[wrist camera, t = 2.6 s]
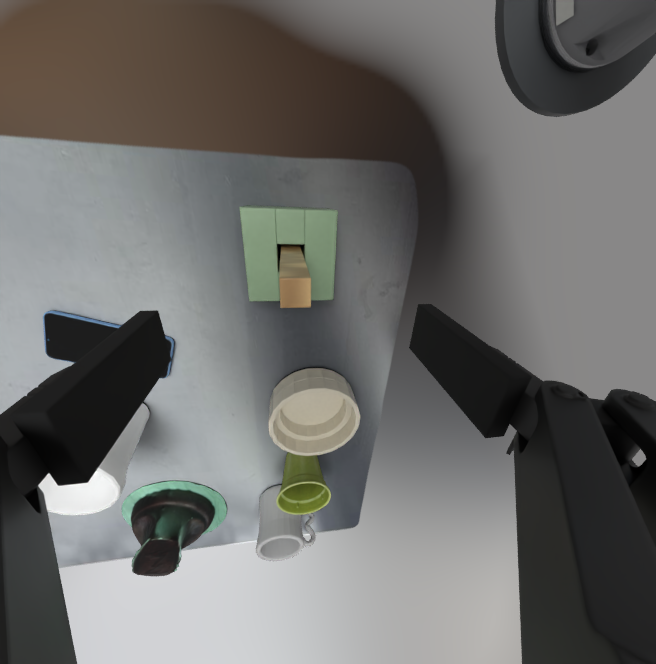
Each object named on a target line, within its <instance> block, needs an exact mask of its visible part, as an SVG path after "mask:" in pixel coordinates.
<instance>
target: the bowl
mask: <svg viewBox="0 0 656 664" xmlns="http://www.w3.org/2000/svg"><path fill="white" fill-rule="evenodd" d="M359 421H360V413H359V409H358V406H357V403H356V400H355V397H354V395H353V392H352V389H351V386H350V385H349V383H348V382H347V381H346V379H345V378H344V377H342V376H341V375H339V374H338V373H336V372H334V371H331V370H327V369H323V368H307V369H303V370H300V371H297V372H294V373H292V374H290V375H289V376H287V377H286V378H284V379H282V380H281V381H280V383H279V384H278V385H277V386H276V387H275V388H274V390H273V393H272V396H271V398H270V409H269V434H270V436H271V438H272V439H273V441H274V443H275V444H276V445H278V446H279V447H280V448H281V449H282V450H285V451H287V452H290V453H292V454H295V455H303V456H313V455H322V454H325V453H328V452H331V451H334V450H336V449H337V448H339V447H341V446H343V445H344V444H345V443H346V442H348V441H349V440H350V439H351V438H352V437H353V436H354V434H355V432H356V430H357V429H358V427H359Z"/></svg>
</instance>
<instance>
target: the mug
mask: <svg viewBox="0 0 656 664" xmlns="http://www.w3.org/2000/svg"><path fill="white" fill-rule="evenodd" d="M281 486H282V485H277V486H273V487H271V488H269V489H267V490H266V491H265V492H264V493H263V494H262V495H261V497H260V500H259V510H260V523H259V535H258V540H257V546H256V553H257V555H258V556H259V557H260V558H261V559H264V560H268V561H280V560H285V559H289V558H291V557H294V556H295V555H297V554H298V553H299V552H300V551H301V550H302V549H303V547H304V546H306V547H308V546H311V545H312V544H313V543H314V541H315V533H314V531H313V529H312V528H311V527H310V526H309V525H310V524H311V523H312V522H313V521H314V515H313V513H309V514H308V515H309V517H310V519H309V520H308V521H307V522H306V524H305V528H306V530H307V531H308V532H309V534H310V535H311V539H310V540H309V541H306V540H305V538H304V537H303V534H302V528H301V515H293V514H289V513H286V512H283V511H282V510H280V509H279V508H278V506H277V503H276V499H277V496H278V494H279V492H280V488H281Z"/></svg>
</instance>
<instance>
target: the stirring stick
mask: <svg viewBox="0 0 656 664" xmlns="http://www.w3.org/2000/svg"><path fill="white" fill-rule="evenodd" d="M279 286H280V307H281V308H304V307H311V277H310V274H309V271H308V268H307V265H306V262H305V259H304V256H303V253H302V250H301V247H300V244H281V255H280V273H279Z"/></svg>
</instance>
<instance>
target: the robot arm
mask: <svg viewBox="0 0 656 664" xmlns="http://www.w3.org/2000/svg"><path fill="white" fill-rule="evenodd" d="M539 25H540V31H541V36H542V40H543V43H544V45H545V48H546V50H547V52H548V54H549V55H550V57H551V58H552V60H553V61H554V62H555V63H556V64H557V65H558V66H560V67H561V68H563V69H565V70H568V71H571V72H587V71H591V70H594V69H597V68H599V67H602V66H604V65H607V64H609V63H611V62H614V61H616V60H618V59H620V58H621V57H623V56H624V55H626V54H627V53H629V52H630V51H632V50H633V49H634V48H636V47H637V46H638V45H640V44H641V43H642V42H644V41H645V40H646V39H648V38H649V37H651V36H652V35H653V34H655V33H656V0H539ZM409 348H410V349H411V350H412V352H413V353H414V354H415V355H416V356H417V358H418V359H419V360H420V361H421V362H422V363H423V365H424V366H425V367H426V368H427V369H428V371H429V372H430V373H431V374H432V375H433V376H434V378H435V379H436V380H437V381H438V382H439V384H440V385H441V386H442V387H443V388H444V390H446V392H447V393H448V394H449V395H450V397H451V398H452V399H453V400H454V401H455V403H456V404H457V405H458V406H459V407H460V408H461V410H462V411H463V412H464V413H465V414H466V416H467V417H468V418H469V419H470V420H471V422H472V423H473V424H474V425H475V426H476V427H477V429H478V430H479V431H480V432H481V433H482V435H483V436H484V437H485V438H491V437H500V436H504V434H505V432H506V430H507V428H508V426H509V424H511V425H512V426H513V427H514V428H515V429H516V430H517V432H516V435H515V436H514V439H513V440H512V442H511V444H510V446H509V448H508V450H507V454H509V455H510V453H511V452H512V451H513V450H514V463H515V487H516V488H515V489H516V515H517V541H518V568H519V593H520V619H521V646H522V664H656V401H653V400H652V399H649V398H648V397H647V396H645V395H642V394H639V393H637V392H631V391H627V390H621V389H614V390H611V391H610V393H609V394H608V396H607V397H606V399H605V400H598V399H591V398H588V396H587V395H586V394H584V393H583V392H582V391H580V390H578V389H576V388H574V387H572V386H570V385H567V384H564V383H562V382H557V381H544V382H543V381H542V380H540V379H539V378H537V377H536V376H535V375H533V374H532V373H530V372H529V371H528V370H526V369H525V368H523V367H522V366H521V365H519V364H517V363H516V362H515V361H513V360H512V359H511V358H508V356H506V355H505V354H504V353H502V352H501V351H499V350H498V349H495V348H493V347H491V346H488V345H487V344H486V343H485V342H483V341H482V340H480V339H479V338H478V337H476V336H475V335H474V334H472V333H471V332H469V331H468V330H467V329H465V328H464V327H462V326H461V325H460V324H458V323H457V322H455V321H454V320H453V319H451V318H450V317H448V316H447V315H446V314H444V313H443V312H441V311H440V310H439V309H437V308H436V307H434V306H433V305H431V304H419V305H418V308H417V313H416V318H415V323H414V328H413V332H412V338H411V342H410V347H409ZM171 360H172V359H171V356H170V352H169V348H168V345H167V341H166V338H165V334H164V331H163V327H162V323H161V320H160V316H159V313H158V311H139V312H138V313H137V314H136V315H134V316H133V317H132V318H131V319H129V320H128V321H127V322H126V323H124V324H123V325H122V326H121V327H119V328H118V329H117V330H116V331H114V332H113V333H112V334H111V335H109V336H108V337H107V338H106V339H104V340H103V341H102V342H101V343H99V344H98V345H97V346H96V347H94V348H93V349H92V350H91V351H89V352H88V353H87V354H85V355H84V356H83V357H82V358H80V359H79V360H78V361H77V362H75V363H74V364H73V365H72V366H69V367H67V368H65V369H63V370H61V371H59V372H57V373H55V374H53V375H51V376H50V377H49V378H47V379H46V380H45V381H44V382H42V383H41V384H40V385H38V387H37V388H34V389H33V390H32V391H31V392H29V393H28V394H27V396H24V397H23V398H21V399H20V400H19V401H18V402H16V403H15V404H14V405H12V406H11V407H10V408H8V409H7V410H6V411H5V412H3V413H2V414H1V415H0V664H77V661H76V656H75V650H74V645H73V641H72V635H71V630H70V625H69V620H68V615H67V609H66V605H65V599H64V594H63V589H62V584H61V579H60V574H59V569H58V563H57V558H56V553H55V548H54V543H53V538H52V533H51V528H50V523H49V518H48V512H47V507H46V502H45V497H44V493H43V492H42V490H41V489H40V488H39V486H38V485H39V484H40V483H41V482H42V480H43V479H44V478H45V477H46V476H47V475H48V473H49V474H50V475H51V476H52V478H53V479H54V481H55V482H56V484H57V485H58V486H63V485H72V484H81V483H88V482H89V480H90V479H91V477H92V476H93V474H94V473H95V472H96V470H97V469H98V467H99V466H100V464H101V463H102V461H103V460H104V458H105V457H106V455H107V454H108V452H109V451H110V450H111V448H112V447H113V445H114V444H115V442H116V441H117V439H118V438H119V436H120V435H121V433H122V432H123V431H124V429H125V428H126V426H127V425H128V423H129V422H130V420H131V419H132V417H133V416H134V414H135V413H136V411H137V410H138V409H139V407H140V406H141V404H142V403H143V401H144V400H145V398H146V397H147V395H148V394H149V392H150V391H151V390H152V388H153V387H154V385H155V384H156V382H157V381H158V379H159V378H160V376H161V375H162V373H163V372H164V370H165V369H166V368H167V366H168V365H169V363H170V362H171ZM640 449H641V450H642V451H643V452H644V454H645V456H646V460H645V461H644V463H643V464H642V465H641V466H639V467H638V466H637V465H635V463H634V462H633V461H632V458H633V457H634V456H635V454H636V453H637V452H638V451H639V450H640Z"/></svg>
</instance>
